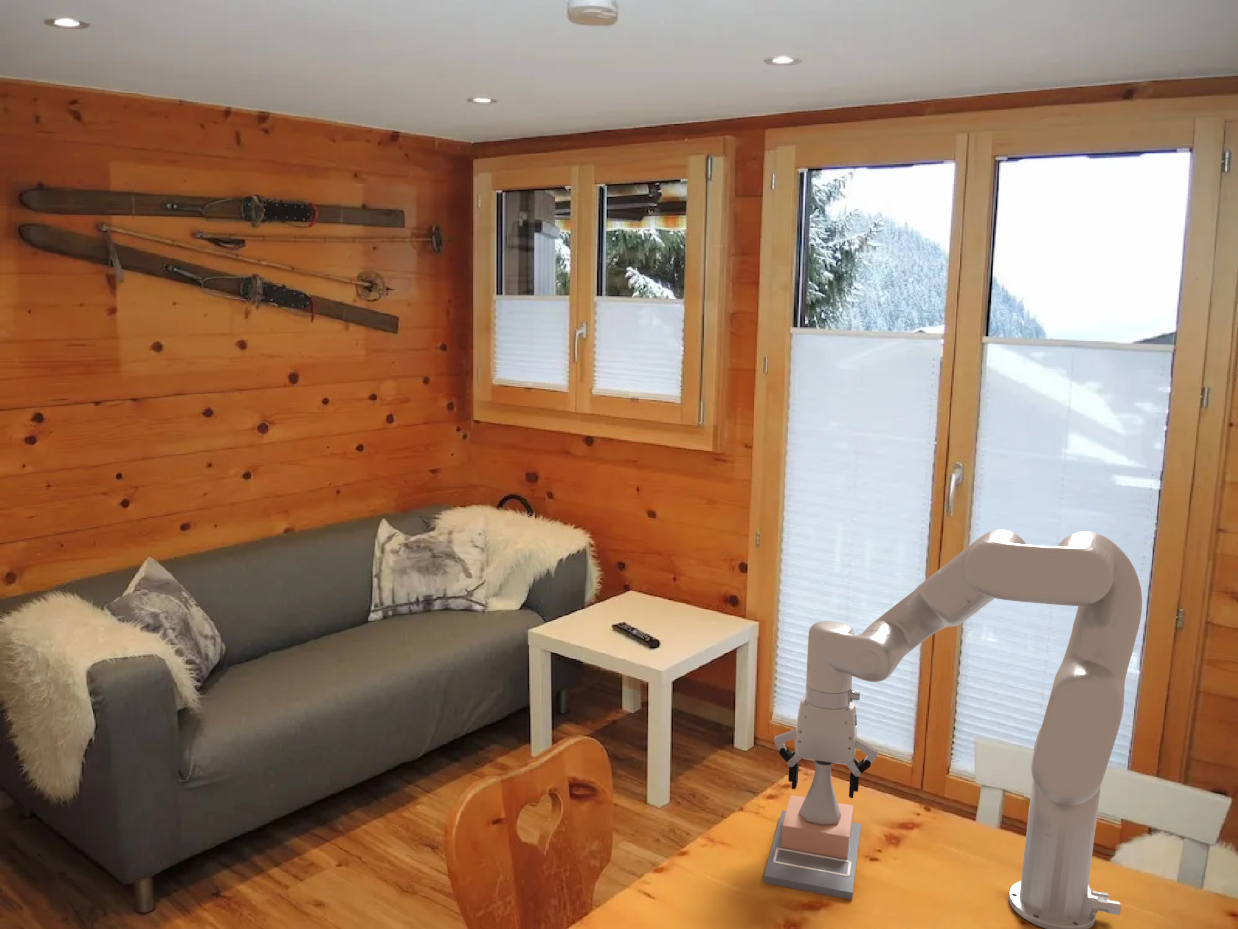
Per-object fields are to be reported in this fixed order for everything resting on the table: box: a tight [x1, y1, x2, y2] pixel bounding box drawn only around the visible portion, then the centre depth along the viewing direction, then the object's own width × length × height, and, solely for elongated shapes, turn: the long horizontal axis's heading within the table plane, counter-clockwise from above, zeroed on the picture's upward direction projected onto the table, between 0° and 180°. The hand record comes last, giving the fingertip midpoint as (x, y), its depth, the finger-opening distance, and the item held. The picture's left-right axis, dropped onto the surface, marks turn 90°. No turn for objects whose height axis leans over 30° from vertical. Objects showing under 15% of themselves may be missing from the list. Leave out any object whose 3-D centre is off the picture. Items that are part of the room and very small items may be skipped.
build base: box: [763, 794, 862, 900], centre depth 172 cm, size 14×22×5 cm, turn 163°
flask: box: [799, 760, 841, 825], centre depth 174 cm, size 7×7×10 cm
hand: (822, 790), depth 174 cm, fingers open, 9 cm apart
